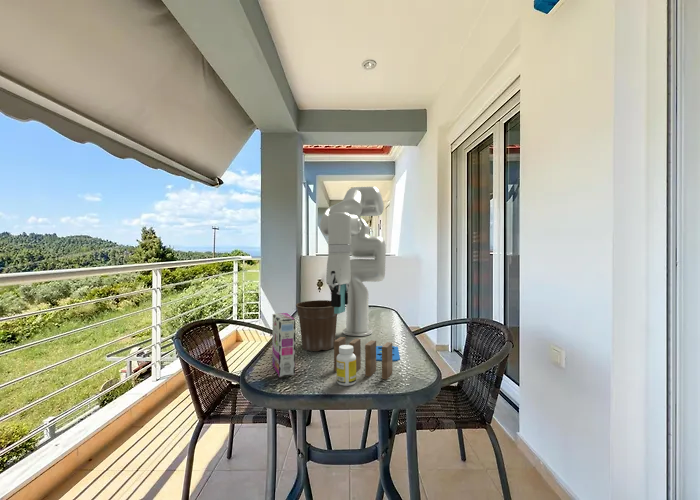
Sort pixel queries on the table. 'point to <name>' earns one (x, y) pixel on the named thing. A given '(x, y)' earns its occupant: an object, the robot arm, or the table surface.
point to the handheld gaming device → (394, 353)
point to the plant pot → (317, 324)
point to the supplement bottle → (346, 366)
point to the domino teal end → (341, 309)
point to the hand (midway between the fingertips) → (339, 304)
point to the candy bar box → (283, 344)
